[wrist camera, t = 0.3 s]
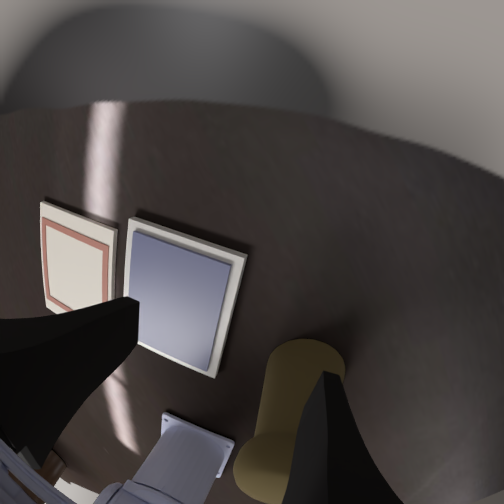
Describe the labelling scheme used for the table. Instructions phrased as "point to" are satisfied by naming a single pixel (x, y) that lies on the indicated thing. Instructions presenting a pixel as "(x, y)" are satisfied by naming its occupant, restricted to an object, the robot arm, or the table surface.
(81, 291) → the marked board
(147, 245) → the ink pad
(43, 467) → the plant pot
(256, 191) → the table surface
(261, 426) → the cork
